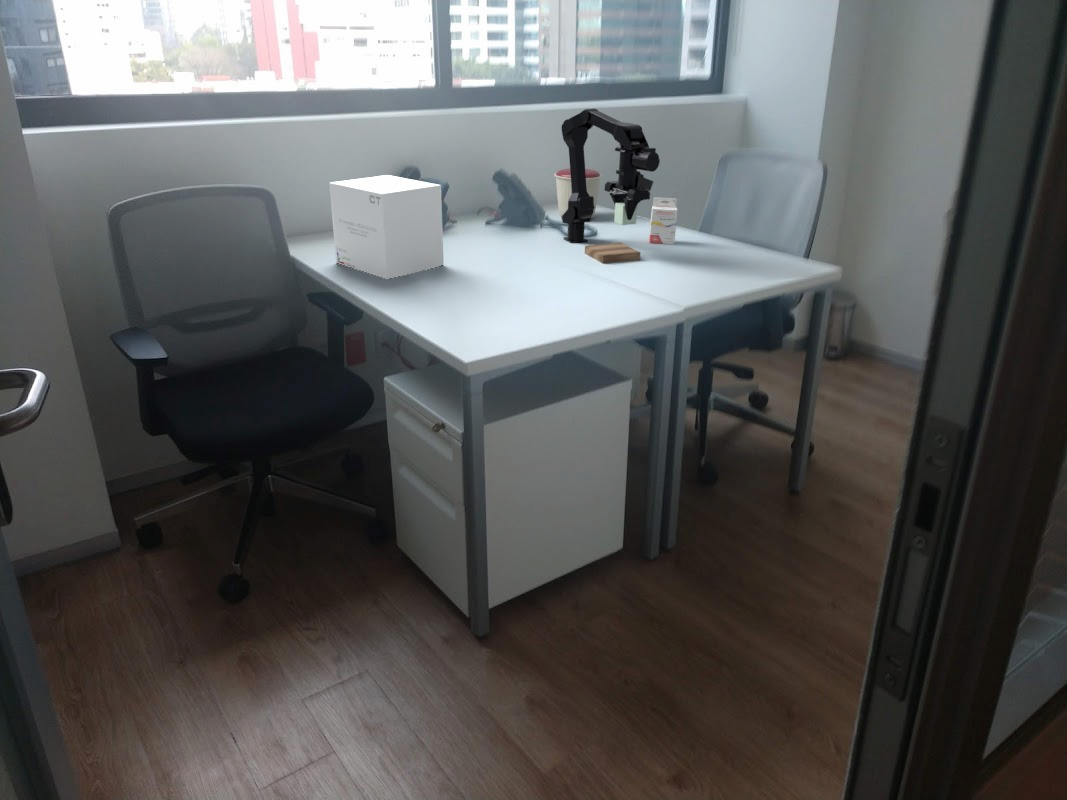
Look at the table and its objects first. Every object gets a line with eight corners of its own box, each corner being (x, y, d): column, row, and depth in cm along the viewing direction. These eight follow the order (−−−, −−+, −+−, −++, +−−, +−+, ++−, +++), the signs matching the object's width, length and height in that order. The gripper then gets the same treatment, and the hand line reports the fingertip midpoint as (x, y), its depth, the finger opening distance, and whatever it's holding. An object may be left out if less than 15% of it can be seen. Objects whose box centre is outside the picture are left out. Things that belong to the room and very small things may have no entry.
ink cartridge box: (649, 243, 275) (652, 199, 269) (648, 240, 280) (652, 197, 274) (674, 244, 274) (678, 200, 268) (673, 241, 279) (677, 197, 273)
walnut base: (584, 255, 261) (585, 245, 260) (620, 251, 266) (620, 242, 265) (602, 265, 250) (603, 255, 249) (639, 261, 255) (640, 252, 254)
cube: (336, 264, 246) (329, 182, 236) (392, 252, 260) (387, 174, 250) (387, 281, 231) (381, 194, 221) (443, 267, 245) (441, 185, 235)
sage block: (614, 221, 259) (615, 203, 256) (627, 220, 261) (629, 201, 258) (622, 225, 254) (623, 205, 252) (635, 223, 256) (637, 204, 254)
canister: (586, 225, 300) (589, 166, 291) (544, 219, 308) (545, 162, 299) (608, 217, 314) (611, 161, 305) (567, 211, 322) (568, 157, 314)
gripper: (666, 170, 246) (662, 222, 252) (635, 162, 261) (632, 210, 268) (635, 172, 241) (631, 224, 248) (604, 163, 257) (602, 213, 263)
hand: (625, 218), depth 257 cm, fingers closed on sage block, 5 cm apart
